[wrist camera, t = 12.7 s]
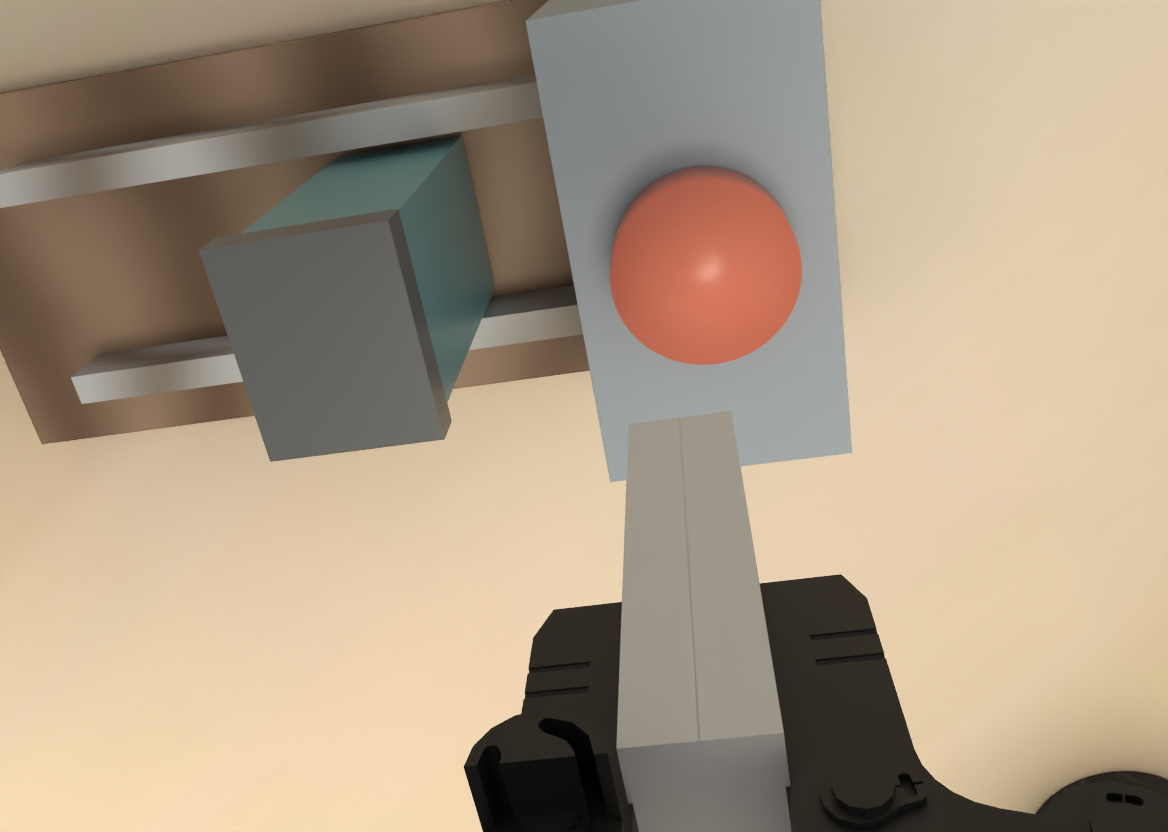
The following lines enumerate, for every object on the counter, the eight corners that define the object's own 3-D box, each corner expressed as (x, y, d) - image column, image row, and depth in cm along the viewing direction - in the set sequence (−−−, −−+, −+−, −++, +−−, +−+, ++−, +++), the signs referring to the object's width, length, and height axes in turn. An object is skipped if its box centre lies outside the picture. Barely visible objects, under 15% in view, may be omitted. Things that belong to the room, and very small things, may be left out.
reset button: (628, 320, 29) (625, 375, 25) (602, 161, 27) (595, 198, 23) (790, 297, 28) (809, 351, 25) (775, 133, 26) (793, 167, 23)
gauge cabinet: (619, 366, 36) (610, 481, 29) (555, -6, 31) (525, 20, 24) (811, 340, 35) (852, 452, 28) (778, -47, 30) (818, -32, 23)
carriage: (374, 311, 35) (270, 461, 26) (330, 150, 33) (199, 250, 23) (502, 292, 35) (444, 439, 25) (466, 128, 32) (388, 220, 23)
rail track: (55, 431, 39) (11, 470, 37) (-85, 108, 34) (-147, 126, 32) (807, 329, 36) (819, 363, 33) (775, -49, 31) (786, -44, 28)
